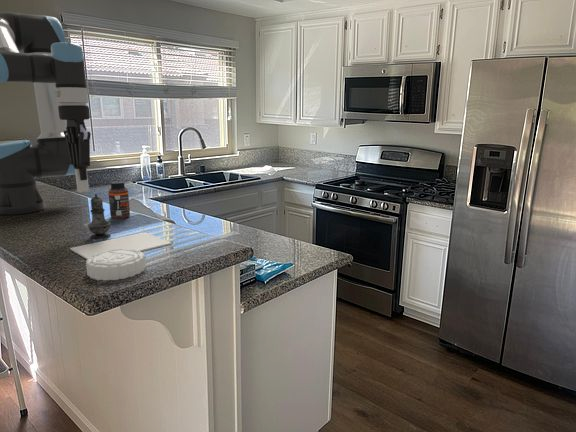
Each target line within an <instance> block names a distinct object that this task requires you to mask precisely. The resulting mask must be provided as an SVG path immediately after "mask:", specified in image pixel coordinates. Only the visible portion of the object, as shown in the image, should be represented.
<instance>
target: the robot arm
mask: <svg viewBox="0 0 576 432" xmlns="http://www.w3.org/2000/svg"><path fill="white" fill-rule="evenodd" d="M20 51H23V52H20ZM0 83H33V89H34V95H35V102H36V107H37V116H38V122H39V127H40V134H39V136H38V137H36V142H37V143H32V142H31V141H30V139H29V140H28V139H22V140H13V141H8V142H3V143H0V215H2V216H3V215H4V216H5V215H7V216H8V215H9V216H10V215H11V216H12V215H24V214H29V213H35V212H39V211H42V210H44V209H46V204H45V200H44V198H43V196H42V194H41V192H40V190H39V189H38V187H37V186H38V185H37V181H36V179H39V178H40V179H41V178H42V179H43V178H44V179H45V178H56V177H67V176H72V175H73V176H74V175H75V181H76V182H75V183H76V191H77V192H78V193H84V192H85V193H86V192H90V185H89V176H88V167H90V166H91V152H90V150H91V149H90V148H91V145H90V143H91V142H90V140H91V135H92V134H91V131H87V126H86V124H85V120H86V121H87V120H90V118H91V114H90V106H89V105H87V104H89V102H90V101H89V94H88V93H89V92H88V87H87V76H86V67H85V56H84V50H83V46H81V45H80V44H79V43H75V42H67V40H66V36H65V31H64V29H63V26H62V24H61V22H60V21H59V19H58V18H57V17H54V16H49V15H44V14H31V13H20V12H11V11H1V12H0Z"/></svg>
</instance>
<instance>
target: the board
mask: <svg viewBox="0 0 576 432" xmlns="http://www.w3.org/2000/svg"><path fill="white" fill-rule="evenodd" d="M170 245H172V242H170V241H168V240H165V239H162V238H160V237H158V236H156V235H152V234H151V233H148V232H145V231H144V232H140V233H135V234H131V235H126V236H121V237H117V238H111V239H107V240H102V241H98V242H93V243H87V244H82V245H79V246H73V247H70V248H69V249H70V251H72V252H74V253H75V254H76V255H78V256H81V257H82V258H83V259H85V260H88V258H89V257H91V256H93V255H95V254H96V253H101V252H105V251H108V250H112V249H135V250H136V251H140V252H142V253H143V252H145V251H149V250H153V249H157V248H161V247H162V248H163V247H165V246H170Z"/></svg>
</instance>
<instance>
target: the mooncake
mask: <svg viewBox="0 0 576 432" xmlns="http://www.w3.org/2000/svg"><path fill="white" fill-rule="evenodd" d="M85 266H86V267H85V268H86V274H87V276H88V277H89V278H90V279H94V280H96V281H118V280H123V279H128V278H131V277H135V276H136V275H140V274H141V273H142V272H144V271H145V270H146V268H147V263H146V256H145V253H144V252H143V251H142V252H140V251H136V250H135V249H112V250H108V251H105V252H101V253H96V254H95V255H93V256H91V257H89V258H88V260H87V259H85Z"/></svg>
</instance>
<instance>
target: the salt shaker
mask: <svg viewBox="0 0 576 432" xmlns="http://www.w3.org/2000/svg"><path fill="white" fill-rule="evenodd" d="M103 204H104V202H103V198H102V197H100V196H98V193H95V194H94V197H92V198H90V205H91V206H90V208H91V209H90V213H91V222H89V223H88V224H87V225H86V226H87V227H88V230H89V231H90V233H92V235H90V237H89V239H90V240H94V241H95V240H105V239H108V238H110V237H111V234H110V233H108V232H109V230H110V225H111V224H112V223H111V222H110V221H108V220H106V218H105V211H106V209H105V208H104V205H103Z"/></svg>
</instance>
